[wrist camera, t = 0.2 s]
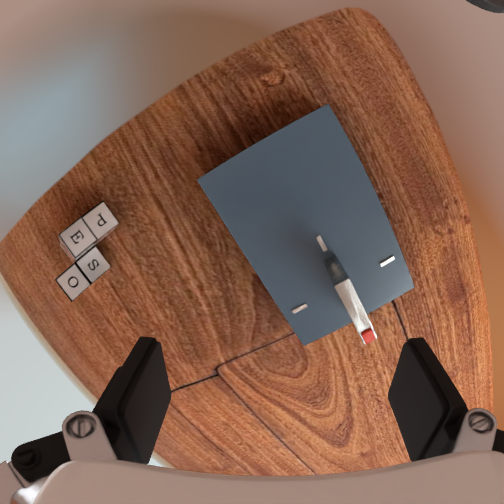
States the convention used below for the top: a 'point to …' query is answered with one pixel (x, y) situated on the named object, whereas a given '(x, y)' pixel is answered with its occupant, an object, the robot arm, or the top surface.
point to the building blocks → (85, 249)
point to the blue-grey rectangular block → (309, 222)
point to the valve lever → (350, 299)
